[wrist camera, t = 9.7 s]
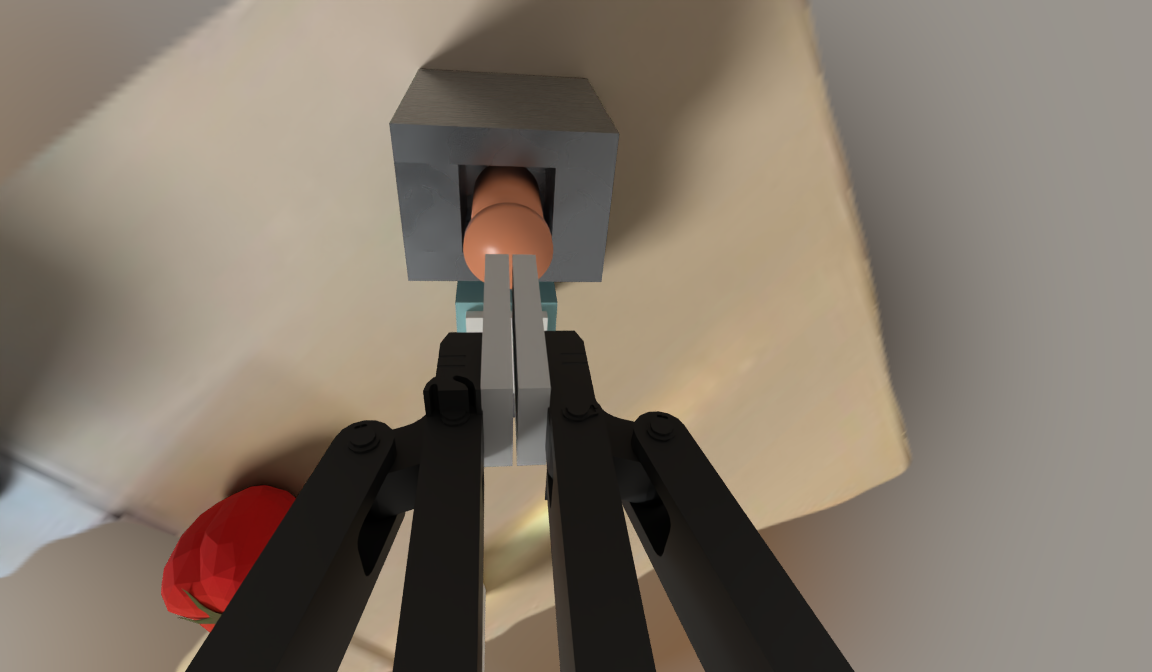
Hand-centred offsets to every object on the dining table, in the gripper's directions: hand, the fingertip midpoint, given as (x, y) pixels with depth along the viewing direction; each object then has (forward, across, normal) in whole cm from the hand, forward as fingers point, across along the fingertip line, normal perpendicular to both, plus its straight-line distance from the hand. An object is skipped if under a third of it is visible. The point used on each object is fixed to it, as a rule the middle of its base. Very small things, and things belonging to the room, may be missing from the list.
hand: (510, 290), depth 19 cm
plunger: (+8, 0, 0) cm, 8 cm away
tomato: (+17, -21, -33) cm, 43 cm away
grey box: (+16, 0, 0) cm, 16 cm away
